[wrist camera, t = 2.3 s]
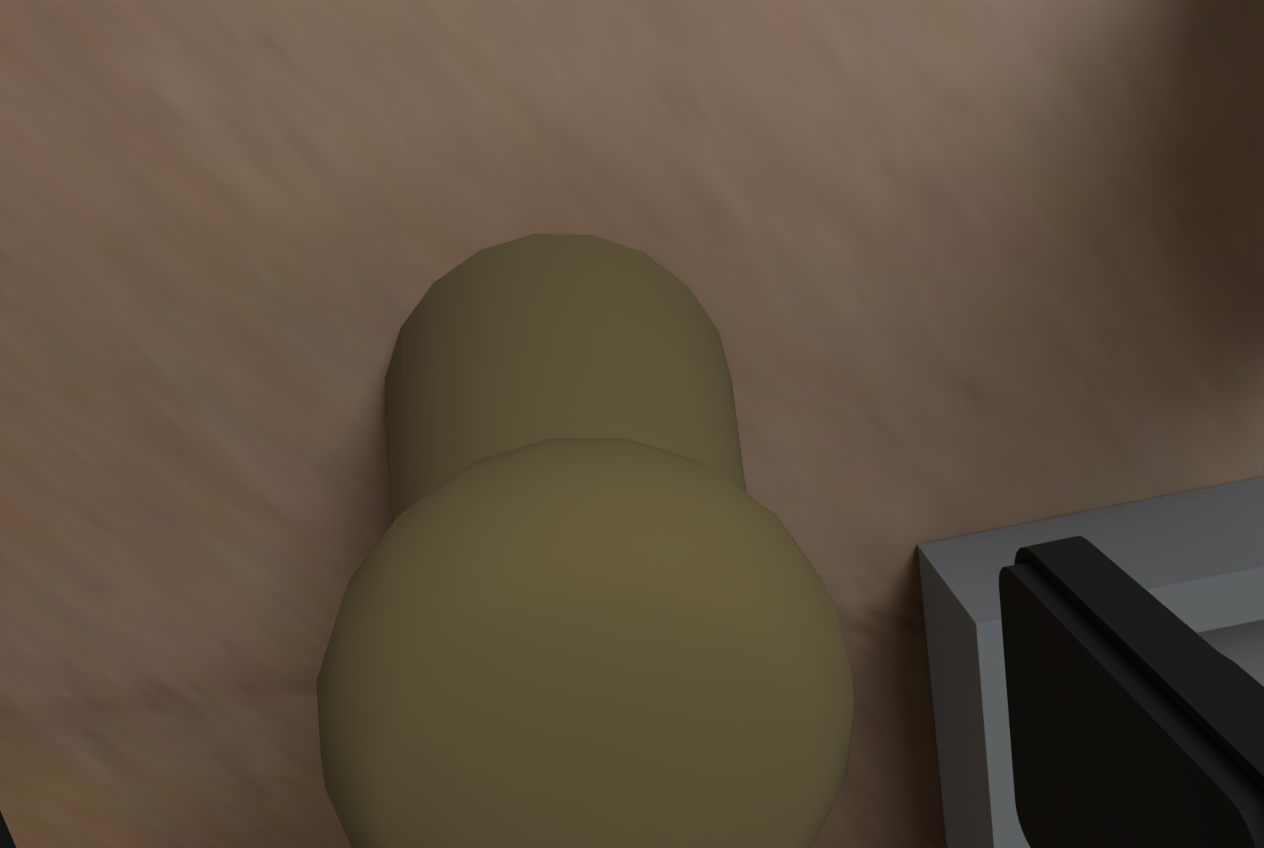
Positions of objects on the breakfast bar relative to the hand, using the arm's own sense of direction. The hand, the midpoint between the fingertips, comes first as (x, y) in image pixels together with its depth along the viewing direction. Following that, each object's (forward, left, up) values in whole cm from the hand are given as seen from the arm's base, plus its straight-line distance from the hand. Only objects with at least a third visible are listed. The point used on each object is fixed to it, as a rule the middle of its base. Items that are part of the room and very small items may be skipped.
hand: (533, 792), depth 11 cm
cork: (-1, 0, -11) cm, 10 cm away
